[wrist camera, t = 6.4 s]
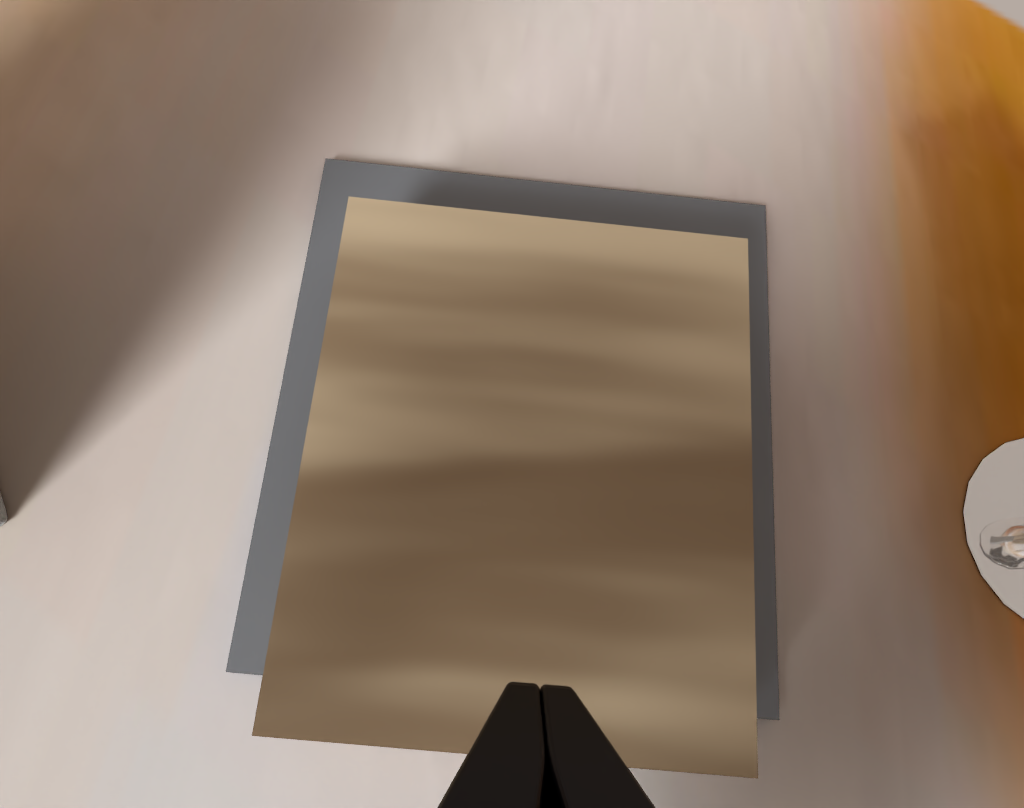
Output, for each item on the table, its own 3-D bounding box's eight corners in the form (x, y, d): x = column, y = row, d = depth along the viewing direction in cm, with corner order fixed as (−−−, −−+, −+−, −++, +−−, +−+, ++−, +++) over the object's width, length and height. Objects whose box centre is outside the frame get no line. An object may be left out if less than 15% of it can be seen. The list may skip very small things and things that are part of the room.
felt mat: (773, 718, 16) (779, 720, 16) (230, 671, 16) (225, 671, 15) (761, 211, 20) (765, 205, 20) (327, 165, 20) (325, 158, 19)
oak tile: (758, 778, 13) (747, 238, 16) (252, 735, 13) (348, 196, 16) (710, 754, 15) (710, 292, 19) (288, 718, 15) (364, 256, 19)
